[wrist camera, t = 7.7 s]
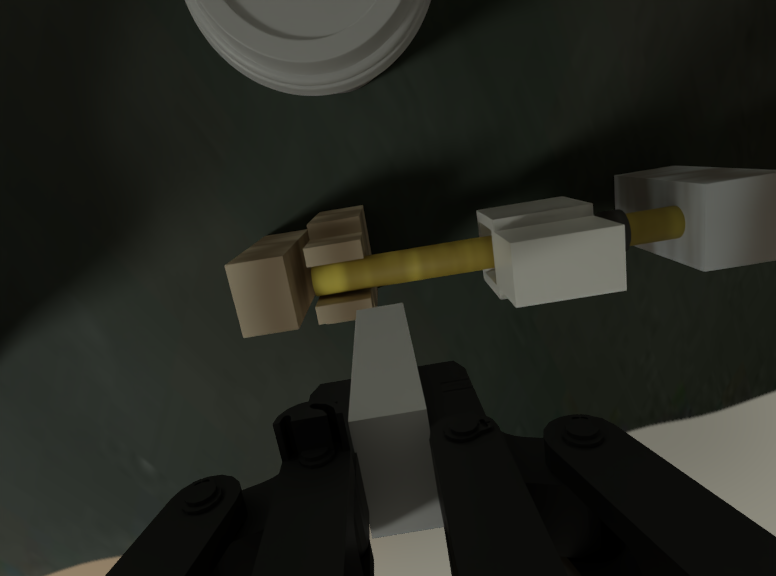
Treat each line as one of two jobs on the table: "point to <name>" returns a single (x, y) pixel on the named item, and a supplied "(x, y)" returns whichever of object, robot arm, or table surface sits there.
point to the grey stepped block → (552, 251)
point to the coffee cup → (309, 39)
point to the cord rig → (367, 272)
